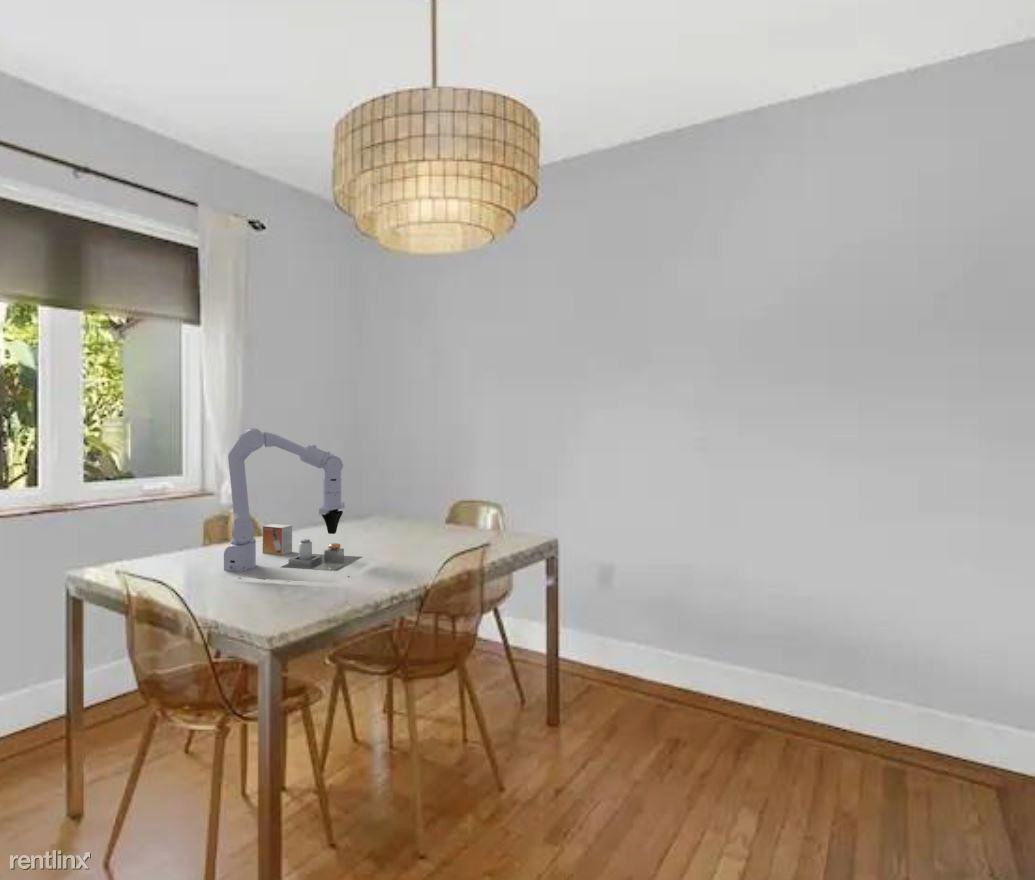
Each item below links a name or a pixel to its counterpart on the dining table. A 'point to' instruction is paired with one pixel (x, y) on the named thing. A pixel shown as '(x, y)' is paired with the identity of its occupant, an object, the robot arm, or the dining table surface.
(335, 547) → the plunger
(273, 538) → the small box
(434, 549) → the dining table surface
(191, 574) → the dining table surface
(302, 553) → the cylinder
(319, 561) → the housing
